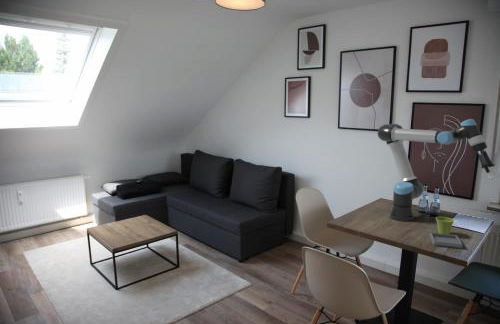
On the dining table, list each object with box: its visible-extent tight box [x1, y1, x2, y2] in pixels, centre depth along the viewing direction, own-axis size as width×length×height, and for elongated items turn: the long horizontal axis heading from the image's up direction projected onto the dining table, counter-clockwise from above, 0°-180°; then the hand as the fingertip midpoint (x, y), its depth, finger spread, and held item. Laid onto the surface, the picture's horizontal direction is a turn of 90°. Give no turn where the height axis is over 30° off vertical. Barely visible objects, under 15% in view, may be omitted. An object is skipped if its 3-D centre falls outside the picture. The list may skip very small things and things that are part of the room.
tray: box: [429, 232, 463, 250], centre depth 188 cm, size 13×13×3 cm
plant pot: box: [435, 216, 455, 235], centre depth 201 cm, size 9×9×9 cm
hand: (493, 177), depth 198 cm, fingers open, 13 cm apart
